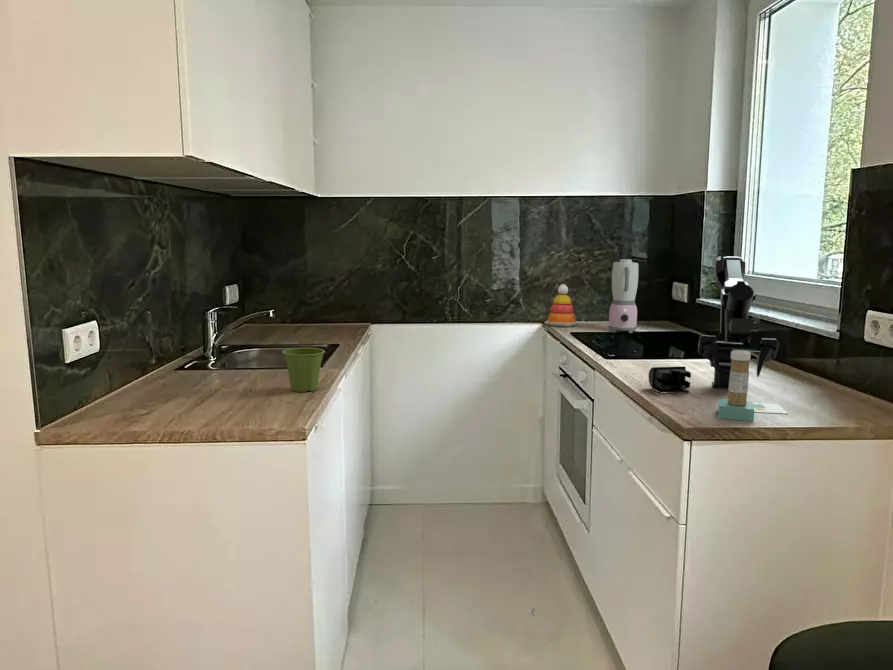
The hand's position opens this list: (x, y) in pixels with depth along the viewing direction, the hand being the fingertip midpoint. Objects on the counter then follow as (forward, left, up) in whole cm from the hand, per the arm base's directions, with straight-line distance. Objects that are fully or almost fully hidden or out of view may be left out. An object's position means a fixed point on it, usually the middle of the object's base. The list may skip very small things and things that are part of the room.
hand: (738, 374), depth 170 cm
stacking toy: (-135, -71, -11) cm, 153 cm away
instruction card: (-9, +6, -10) cm, 15 cm away
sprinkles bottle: (0, 0, -8) cm, 8 cm away
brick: (+1, 0, -10) cm, 11 cm away
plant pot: (+19, -114, -11) cm, 117 cm away
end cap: (-21, -17, -11) cm, 29 cm away
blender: (-127, -42, -11) cm, 135 cm away
